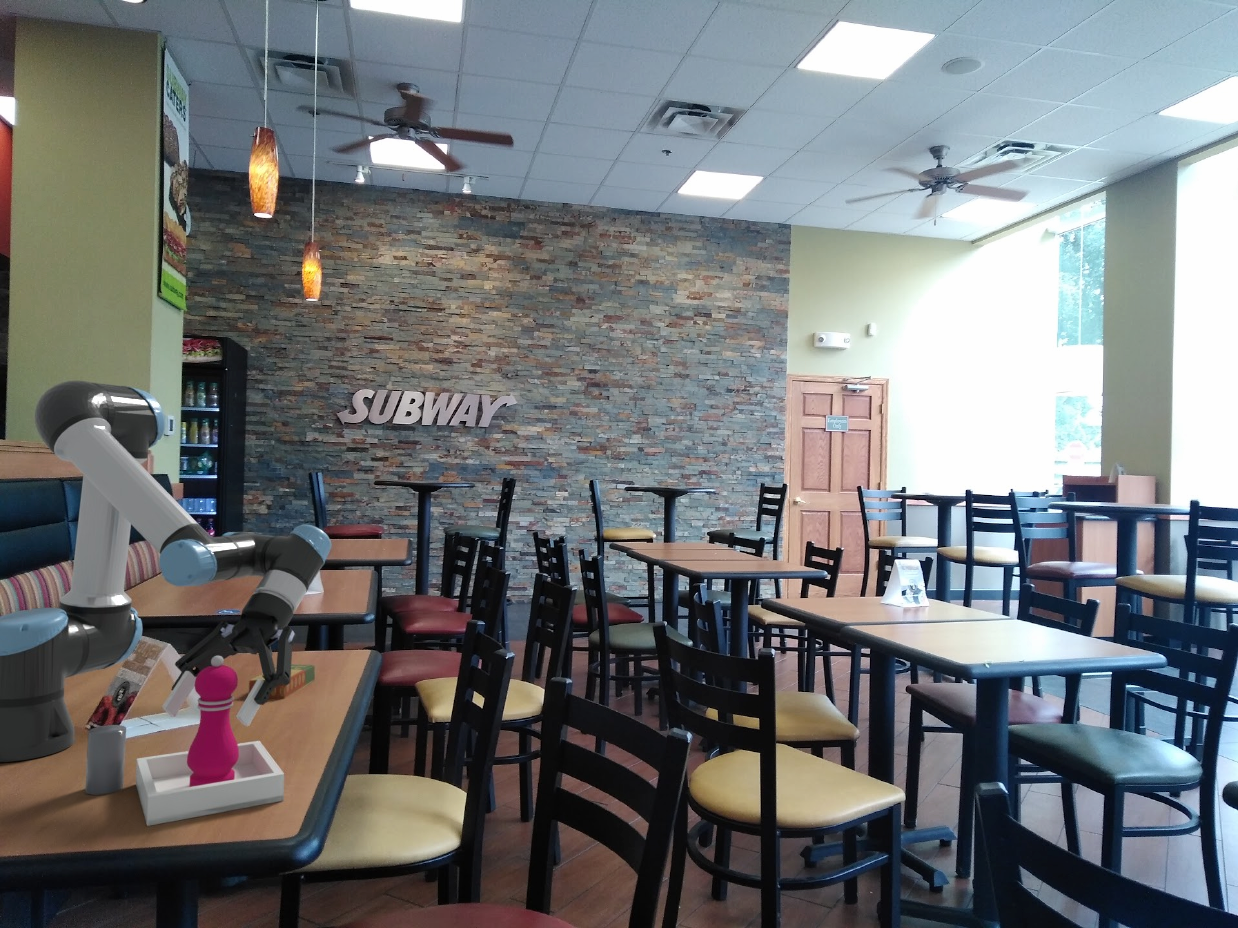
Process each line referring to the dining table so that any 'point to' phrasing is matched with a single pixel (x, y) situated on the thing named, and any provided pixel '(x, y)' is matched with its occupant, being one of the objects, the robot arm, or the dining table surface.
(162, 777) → the tray
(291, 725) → the dining table surface
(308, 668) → the carton
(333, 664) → the dining table surface
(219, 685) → the pepper mill
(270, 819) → the dining table surface
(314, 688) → the dining table surface
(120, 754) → the grey rounded pillar
